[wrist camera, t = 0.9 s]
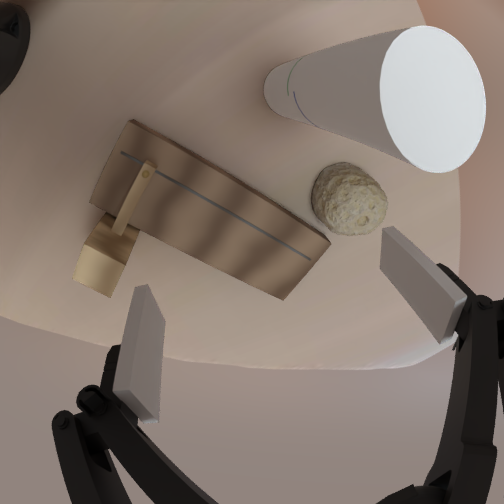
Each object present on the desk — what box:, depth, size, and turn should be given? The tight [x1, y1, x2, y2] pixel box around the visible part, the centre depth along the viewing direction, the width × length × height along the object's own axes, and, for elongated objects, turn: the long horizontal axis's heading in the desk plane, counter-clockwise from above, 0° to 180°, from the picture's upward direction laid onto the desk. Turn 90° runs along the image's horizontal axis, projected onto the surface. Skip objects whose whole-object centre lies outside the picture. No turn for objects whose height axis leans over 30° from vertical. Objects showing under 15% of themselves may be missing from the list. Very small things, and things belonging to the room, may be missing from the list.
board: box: [89, 119, 331, 300], centre depth 37 cm, size 30×11×3 cm, turn 55°
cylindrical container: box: [264, 26, 486, 173], centre depth 20 cm, size 7×7×25 cm
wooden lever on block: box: [72, 160, 158, 298], centre depth 31 cm, size 5×14×10 cm, turn 145°
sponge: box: [312, 163, 388, 236], centre depth 37 cm, size 9×10×10 cm
